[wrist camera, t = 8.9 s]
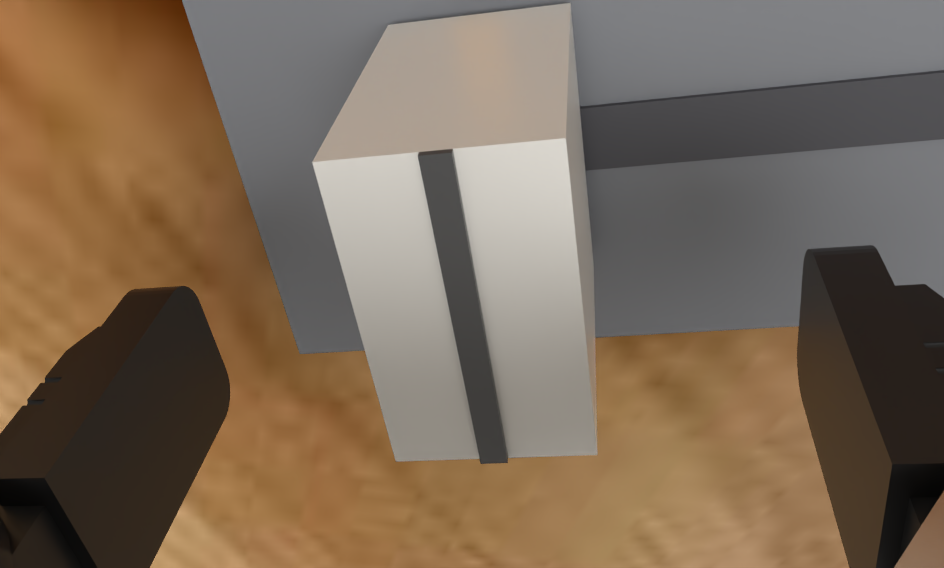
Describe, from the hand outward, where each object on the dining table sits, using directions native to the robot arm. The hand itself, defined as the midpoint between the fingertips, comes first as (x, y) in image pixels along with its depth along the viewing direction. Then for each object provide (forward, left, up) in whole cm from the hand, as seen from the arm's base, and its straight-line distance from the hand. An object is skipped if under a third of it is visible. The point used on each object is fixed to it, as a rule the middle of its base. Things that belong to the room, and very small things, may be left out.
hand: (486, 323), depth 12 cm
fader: (0, 0, -5) cm, 5 cm away
